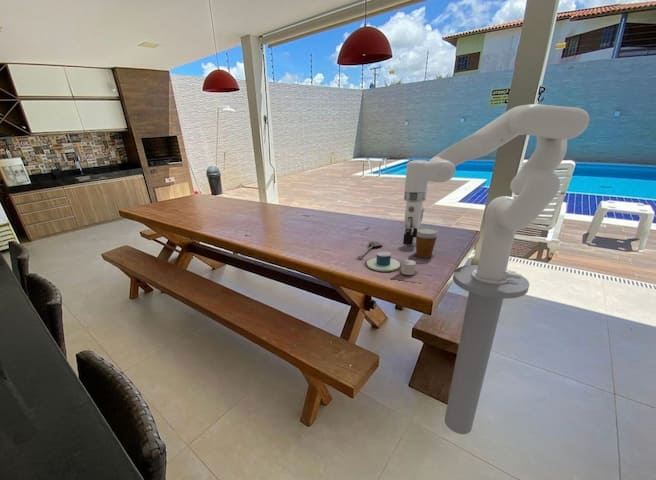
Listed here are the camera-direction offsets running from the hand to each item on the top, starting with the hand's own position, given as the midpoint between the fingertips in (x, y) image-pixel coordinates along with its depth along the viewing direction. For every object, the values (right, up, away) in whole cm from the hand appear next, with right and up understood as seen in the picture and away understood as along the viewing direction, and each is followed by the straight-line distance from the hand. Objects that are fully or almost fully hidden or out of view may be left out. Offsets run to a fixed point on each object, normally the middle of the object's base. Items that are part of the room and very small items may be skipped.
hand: (409, 240), depth 119 cm
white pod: (+1, -12, +6) cm, 14 cm away
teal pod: (-7, -9, +13) cm, 17 cm away
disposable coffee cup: (+14, -5, +21) cm, 26 cm away
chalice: (+14, +1, +34) cm, 37 cm away
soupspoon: (-9, -3, +29) cm, 30 cm away
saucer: (-6, -9, +14) cm, 18 cm away
